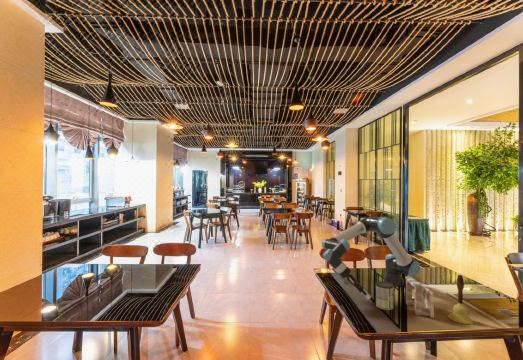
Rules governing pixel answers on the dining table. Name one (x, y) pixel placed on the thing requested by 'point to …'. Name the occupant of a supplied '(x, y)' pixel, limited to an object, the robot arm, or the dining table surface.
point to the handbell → (460, 306)
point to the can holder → (419, 297)
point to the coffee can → (384, 295)
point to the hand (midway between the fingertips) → (369, 298)
